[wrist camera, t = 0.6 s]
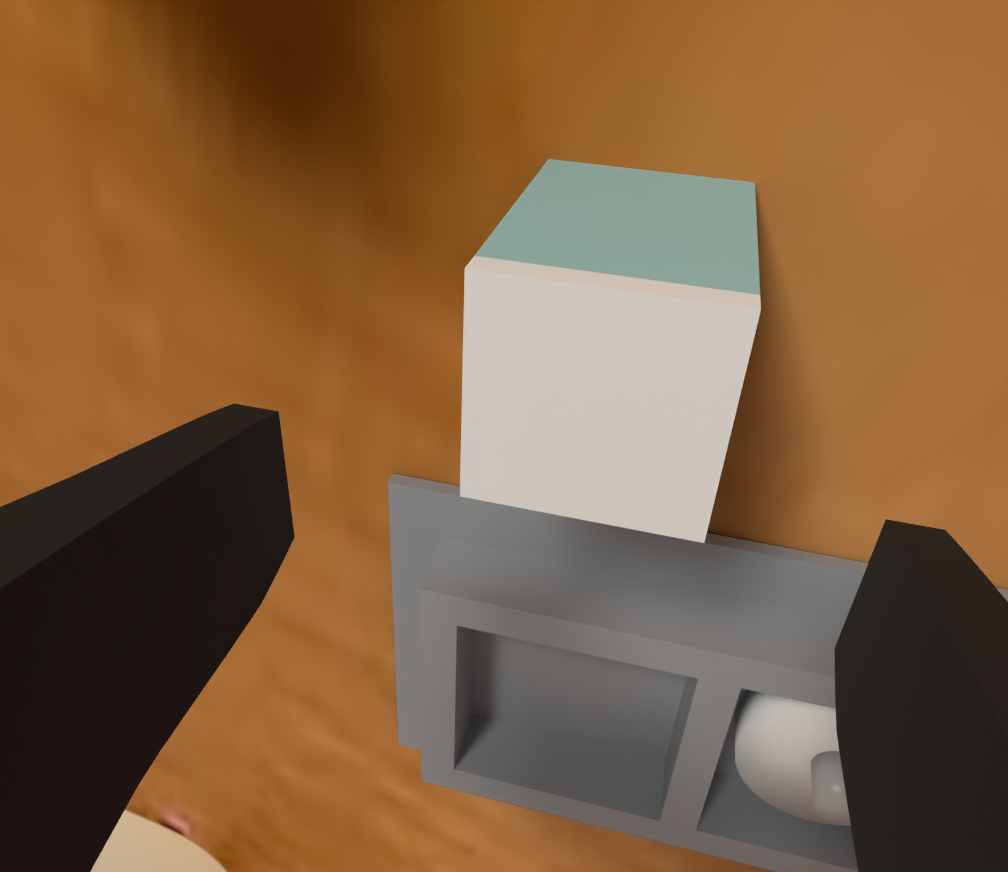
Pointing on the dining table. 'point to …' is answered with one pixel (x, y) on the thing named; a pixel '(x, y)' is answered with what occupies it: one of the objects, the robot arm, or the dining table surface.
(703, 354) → the teal and white block
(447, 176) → the dining table surface
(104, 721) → the robot arm
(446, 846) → the dining table surface
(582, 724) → the housing
